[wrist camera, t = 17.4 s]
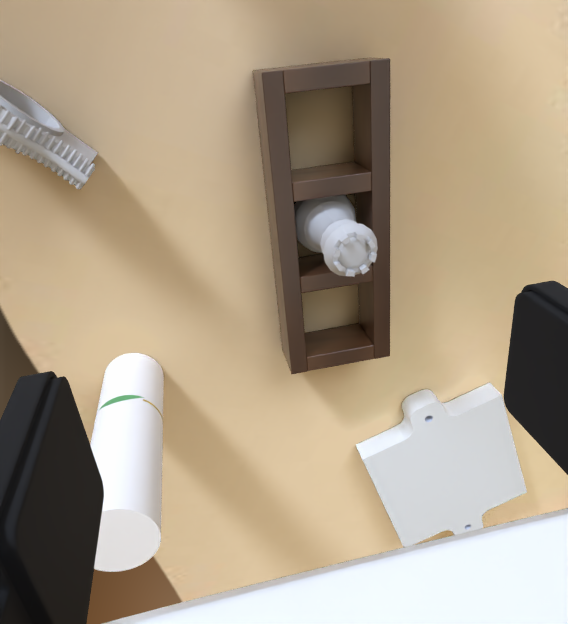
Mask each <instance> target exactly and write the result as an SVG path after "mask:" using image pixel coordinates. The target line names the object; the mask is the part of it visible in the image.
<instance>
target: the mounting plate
mask: <svg viewBox="0 0 568 624" xmlns="http://www.w3.org/2000/svg"><path fill="white" fill-rule="evenodd" d="M402 410H403V412H404V419H403V421H402V422H401V423H400V424H399V425H397V426H395V427H393V428H391V429H389V430H386V431H384V432H382V433H380V434H378V435H376V436H374V437H371V438H369V439H367V440H365V441H363V442H361V443H359V444H356V447H357V449H358V451H359V453H360V455H361V458H362V460H363V462H364V464H365V466H366V468H367V470H368V473H369V475H370V477H371V479H372V481H373V483H374V485H375V487H376V490H377V492H378V494H379V496H380V498H381V500H382V502H383V505H384V507H385V509H386V511H387V513H388V515H389V517H390V519H391V522H392V524H393V526H394V528H395V530H396V532H397V534H398V536H399V539H400V541H401V543H402V545H403V547H408V546H412V545H414V544H416V543H418V542H420V541H423V540H425V539H427V538H429V537H431V536H433V535H436V534H438V533H440V532H442V531H445V530H450V531H452V532H453V534H454V535H457V534H461V533H465V532H470V531H474V530H478V529H482V528H483V522H482V516H483V514H484V513H485V512H486V511H488V510H490V509H492V508H494V507H496V506H498V505H501V504H503V503H505V502H507V501H509V500H511V499H513V498H516V497H518V496H520V495H522V494H524V493H526V492H527V490H526V486H525V483H524V479H523V475H522V471H521V467H520V463H519V460H518V456H517V452H516V448H515V444H514V440H513V436H512V433H511V429H510V425H509V421H508V417H507V413H506V409H505V406H504V402H503V398H502V395H501V394H500V393H499V392H498V391H497V390H496V388H495V387H494V386H493V385H492V384H491V383H490V382H489V383H487V384H485V385H483V386H481V387H479V388H477V389H474V390H472V391H470V392H468V393H466V394H464V395H462V396H459V397H457V398H455V399H453V400H451V401H449V402H446V403H441V402H440V401H439V400H438V398H437V397H436V396H435V394H434V393H433V392H432V391H431V390H429V389H423V390H420V391H418V392H416V393H414V394H412V395H409V396H408V397H406V398H405V399H404V401H403V403H402Z"/></svg>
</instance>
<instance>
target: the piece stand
mask: <svg viewBox="0 0 568 624" xmlns="http://www.w3.org/2000/svg"><path fill="white" fill-rule="evenodd" d="M253 78H254V88H255V97H256V106H257V116H258V125H259V135H260V144H261V153H262V163H263V172H264V182H265V191H266V200H267V210H268V219H269V229H270V238H271V247H272V257H273V266H274V276H275V285H276V294H277V304H278V313H279V322H280V332H281V341H282V350H283V353H284V355H285V358H286V361H287V363H288V366H289V369H290V371H291V374H296V373H301V372H306V371H310V370H316V369H321V368H327V367H332V366H337V365H343V364H348V363H354V362H359V361H364V360H370V359H376V358H382V357H387V356H390V59H389V58H363V59H353V60H344V61H335V62H326V63H316V64H307V65H298V66H289V67H279V68H270V69H261V70H253ZM346 86H352V95H353V129H354V162H347V163H340V164H333V165H325V166H318V167H310V168H303V169H295V170H291V163H290V151H289V139H288V127H287V115H286V103H285V93H293V92H302V91H311V90H320V89H328V88H337V87H346ZM353 193H355V198H356V223H358V224H363V225H365V226H366V227H368V228H369V229H371V230H372V232H373V233H374V235H375V237H376V239H377V247H378V249H377V252H376V254H377V257H376V260H375V262H372V263H371V265H370V266H369V267H368V268H369V269H370V270H368V271H367V272H366V273H364V274H362V273H360V274H357V275H355V277H353V276H340V275H338V274H336V273H334V272H332V271H331V270H330V269H329V267H328V266H327V265H326V263H325V260H324V254H319V255H313V256H306V257H300V258H298V248H297V236H296V224H295V212H294V202H297V201H304V200H311V199H318V198H325V197H332V196H339V195H346V194H353ZM353 284H358V302H359V324H354V325H348V326H342V327H337V328H331V329H325V330H320V331H314V332H308V333H305V332H304V320H303V308H302V296H301V293H305V292H311V291H317V290H323V289H329V288H335V287H341V286H347V285H353Z"/></svg>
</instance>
